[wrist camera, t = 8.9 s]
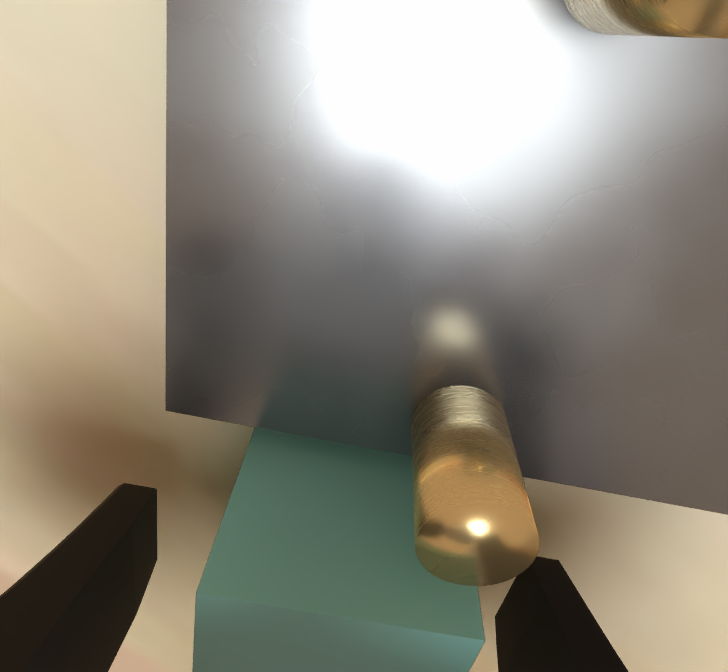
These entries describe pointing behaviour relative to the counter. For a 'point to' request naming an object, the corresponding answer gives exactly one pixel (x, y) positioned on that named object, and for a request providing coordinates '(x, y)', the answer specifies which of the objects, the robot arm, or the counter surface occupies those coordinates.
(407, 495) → the block
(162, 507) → the counter surface
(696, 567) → the counter surface
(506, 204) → the base plate
